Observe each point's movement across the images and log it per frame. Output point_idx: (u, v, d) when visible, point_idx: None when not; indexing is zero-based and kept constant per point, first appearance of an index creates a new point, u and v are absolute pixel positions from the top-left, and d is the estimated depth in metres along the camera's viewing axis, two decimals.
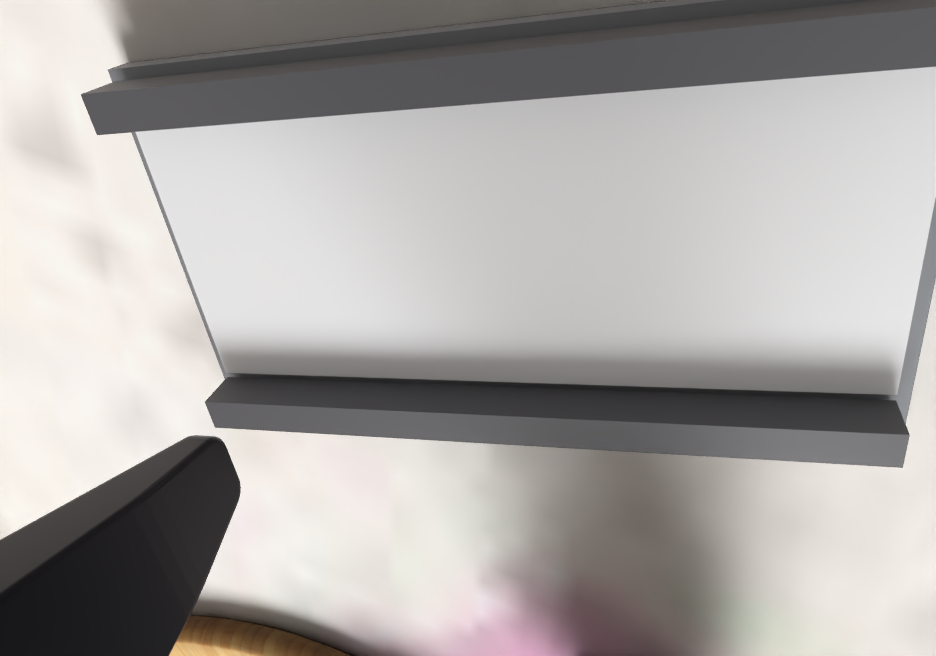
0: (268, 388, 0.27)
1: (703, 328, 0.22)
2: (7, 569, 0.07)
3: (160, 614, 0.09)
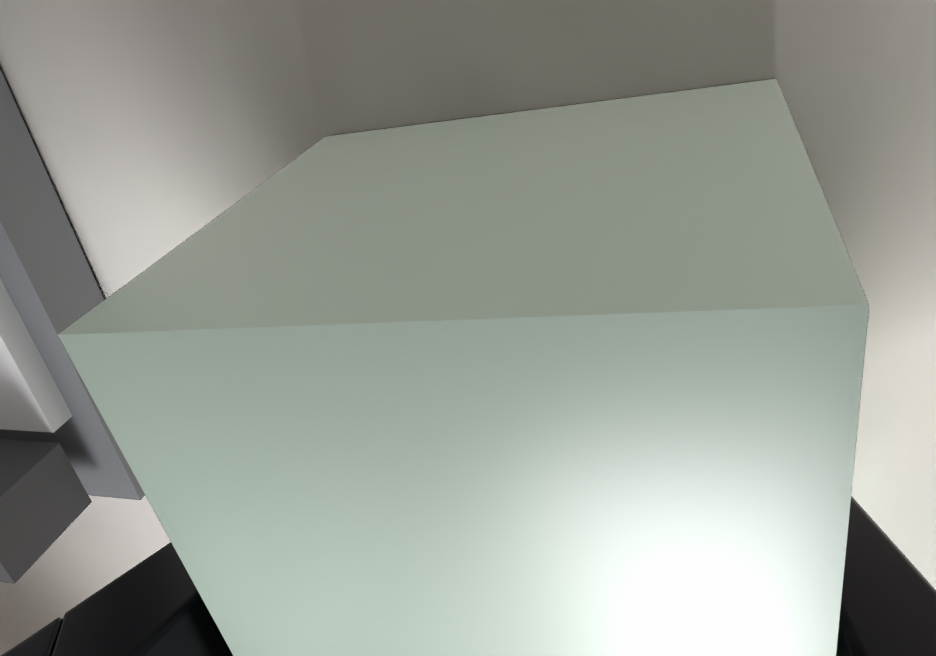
0: None
1: None
2: (167, 591, 0.07)
3: None
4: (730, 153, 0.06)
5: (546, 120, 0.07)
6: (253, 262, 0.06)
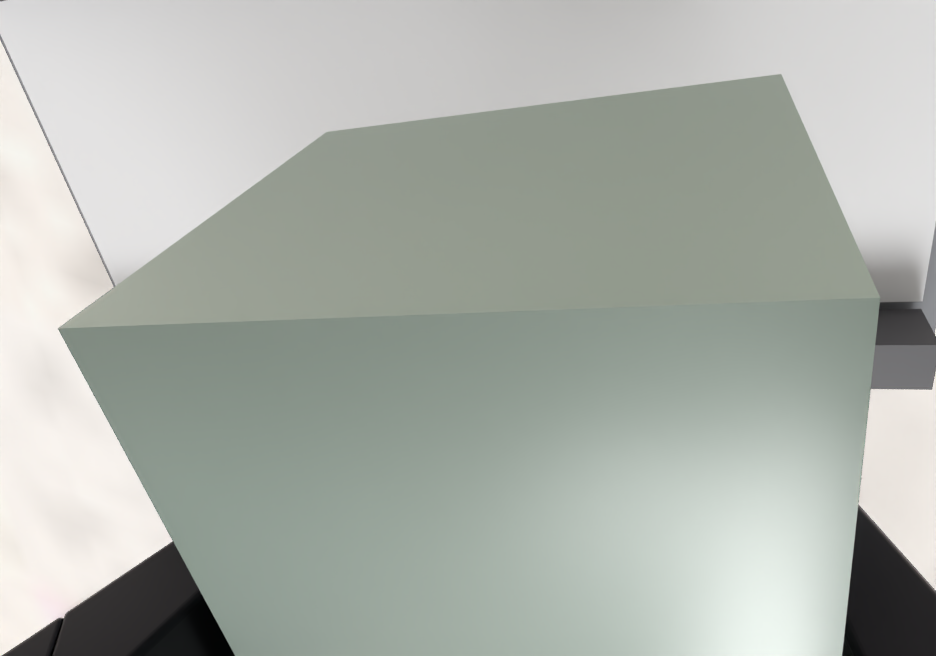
0: None
1: None
2: (168, 591, 0.07)
3: None
4: (736, 147, 0.06)
5: (550, 115, 0.07)
6: (256, 255, 0.05)
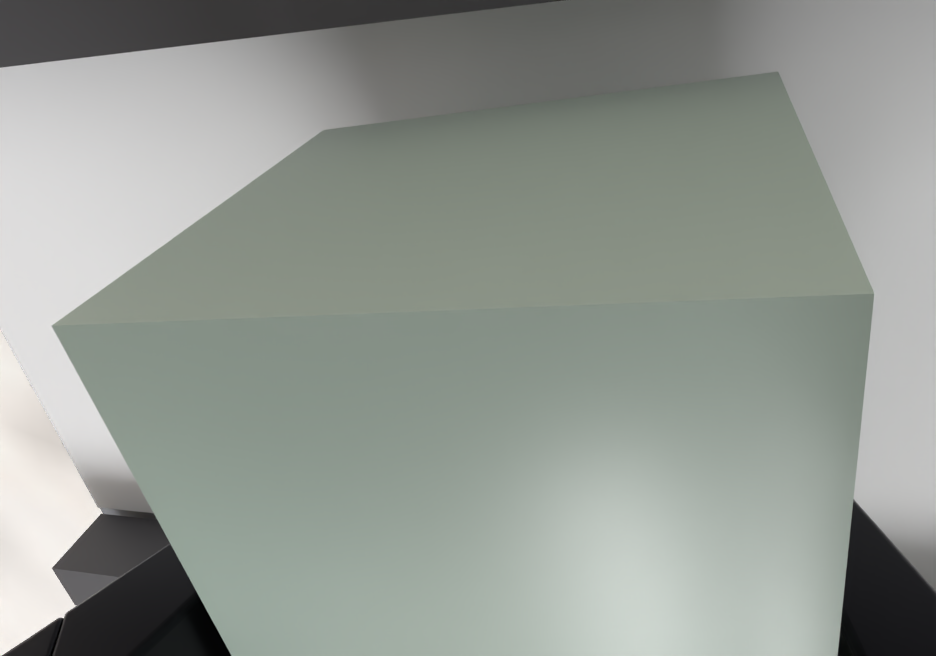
0: (163, 543, 0.16)
1: None
2: (168, 591, 0.07)
3: None
4: (732, 145, 0.06)
5: (546, 113, 0.07)
6: (251, 253, 0.05)
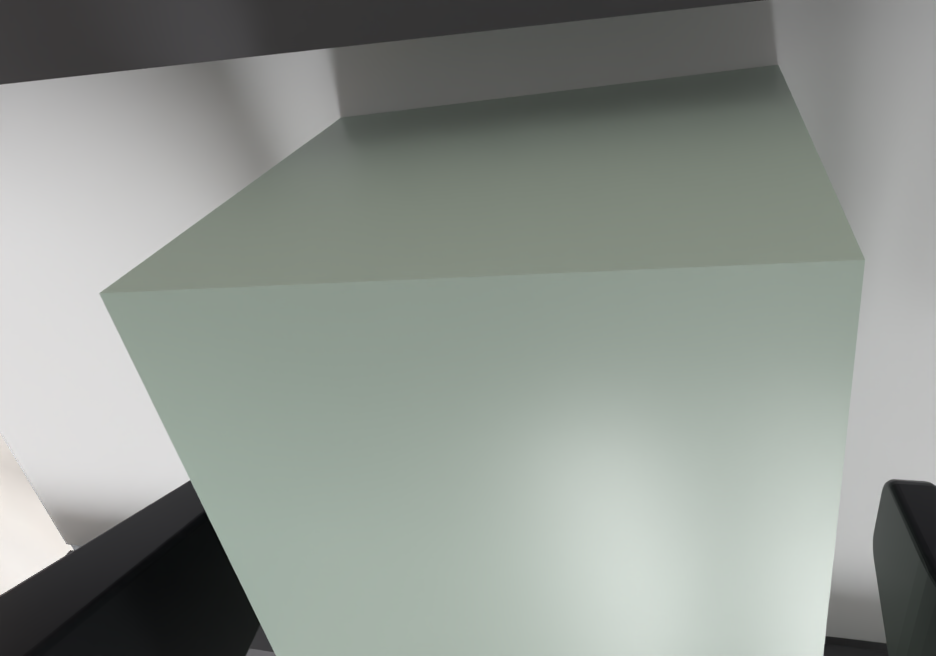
0: None
1: None
2: (89, 580, 0.07)
3: (233, 625, 0.08)
4: (735, 131, 0.06)
5: (557, 102, 0.08)
6: (283, 229, 0.06)
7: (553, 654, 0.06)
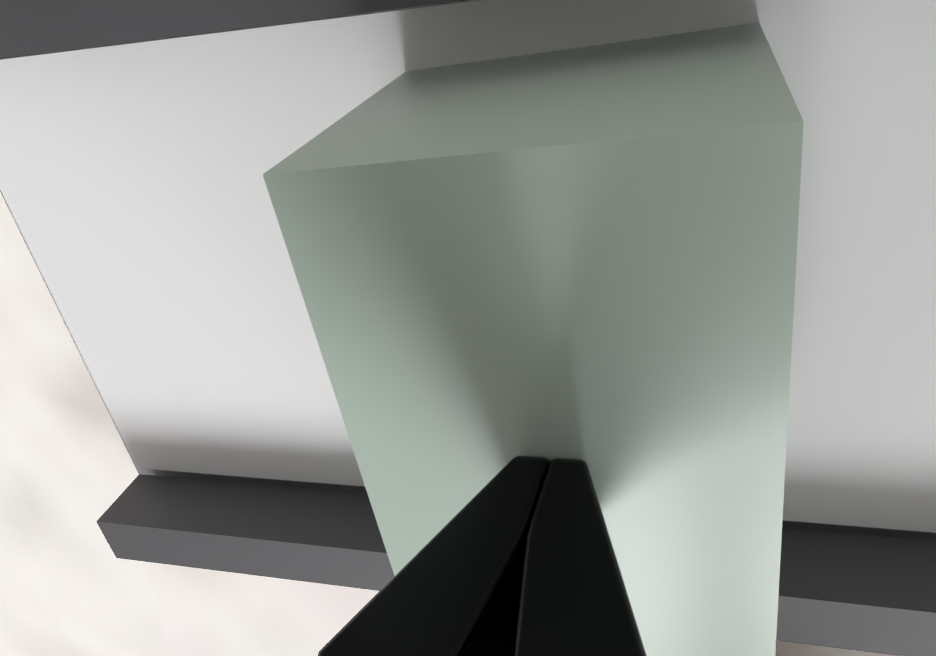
0: (199, 498, 0.17)
1: None
2: (428, 627, 0.06)
3: None
4: (724, 63, 0.08)
5: (584, 53, 0.10)
6: (388, 134, 0.08)
7: (586, 460, 0.08)
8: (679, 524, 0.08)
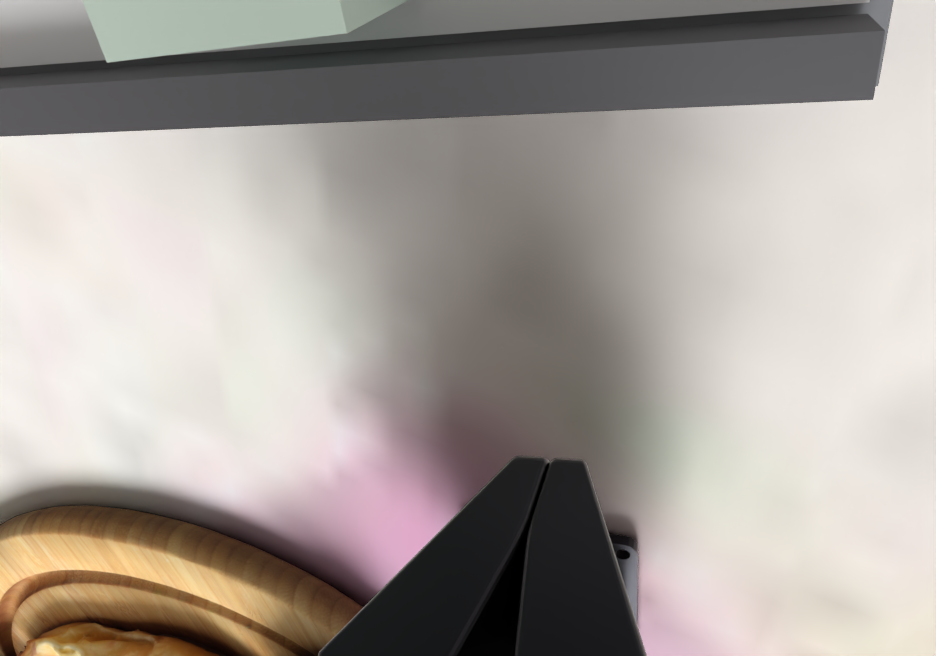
0: None
1: None
2: (429, 626, 0.06)
3: None
4: None
5: None
6: None
7: None
8: None
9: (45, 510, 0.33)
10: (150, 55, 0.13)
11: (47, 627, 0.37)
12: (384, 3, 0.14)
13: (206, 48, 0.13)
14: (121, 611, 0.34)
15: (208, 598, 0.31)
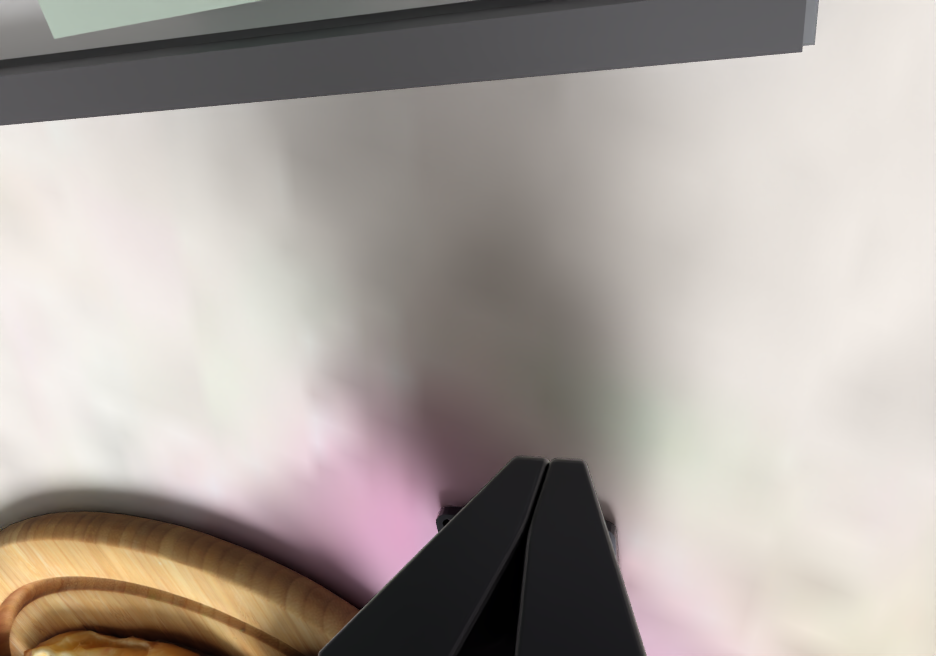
0: None
1: None
2: (429, 626, 0.06)
3: None
4: None
5: None
6: None
7: None
8: None
9: (40, 517, 0.33)
10: (94, 29, 0.14)
11: (45, 637, 0.37)
12: None
13: (147, 19, 0.13)
14: (117, 618, 0.34)
15: (201, 601, 0.31)
